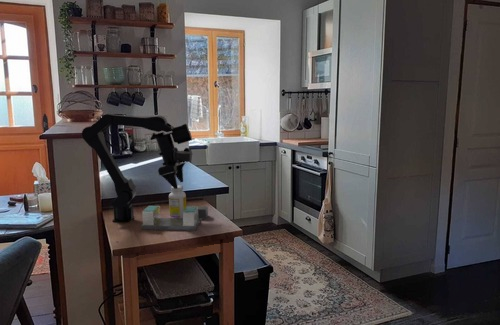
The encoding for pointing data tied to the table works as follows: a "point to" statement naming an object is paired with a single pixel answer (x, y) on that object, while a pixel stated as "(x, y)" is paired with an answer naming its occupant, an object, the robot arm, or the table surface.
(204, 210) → the loose gray rectangular block
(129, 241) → the table surface
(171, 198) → the supplement bottle
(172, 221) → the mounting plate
